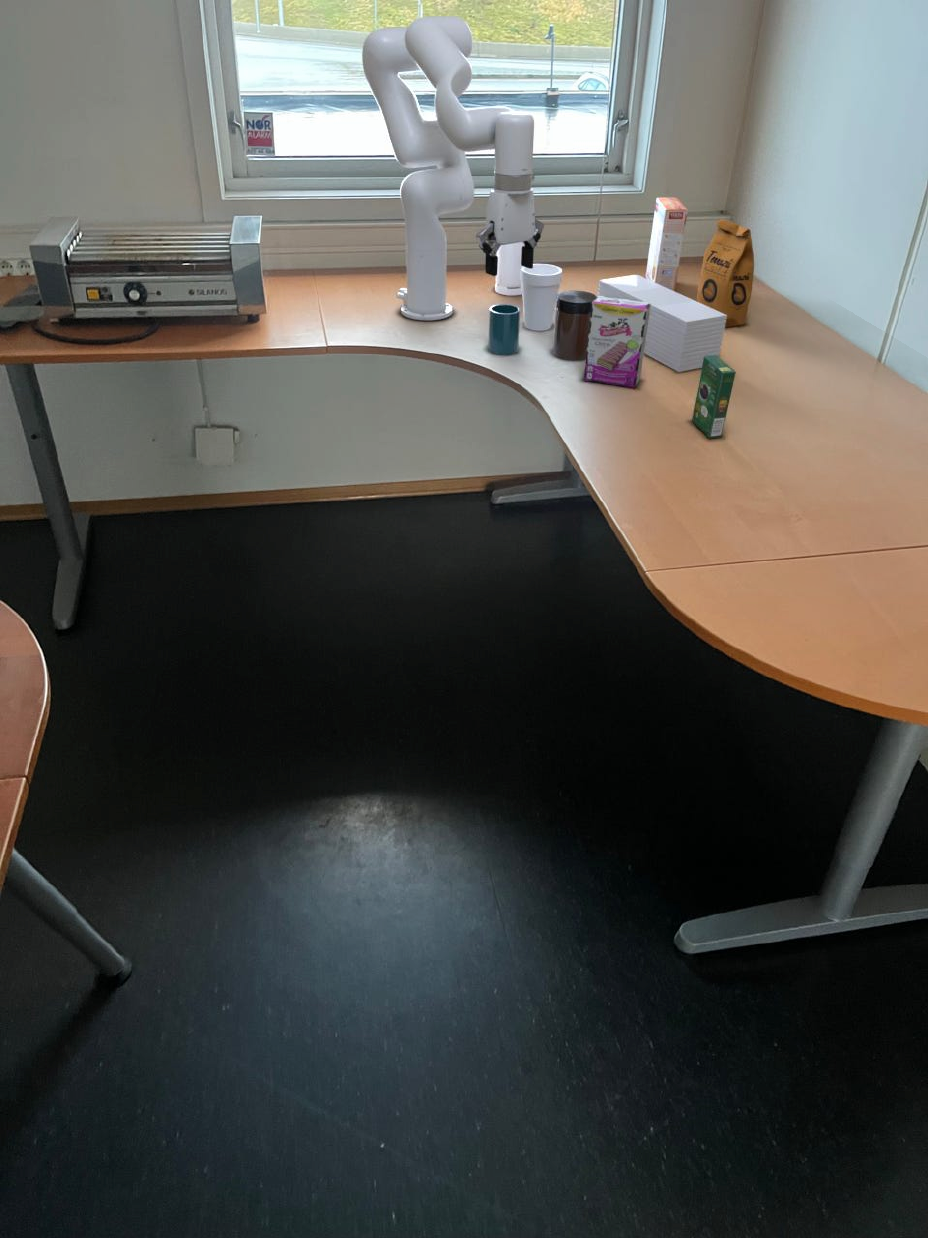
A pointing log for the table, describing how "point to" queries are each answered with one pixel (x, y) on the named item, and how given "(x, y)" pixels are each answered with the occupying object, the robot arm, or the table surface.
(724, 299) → the coffee package
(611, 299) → the candy bar box
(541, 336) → the table surface
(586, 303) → the jar lid
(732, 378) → the coffee box
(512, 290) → the bottle
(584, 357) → the jar
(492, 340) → the cup
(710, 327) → the stack of papers
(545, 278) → the foam cup
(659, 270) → the cracker box
